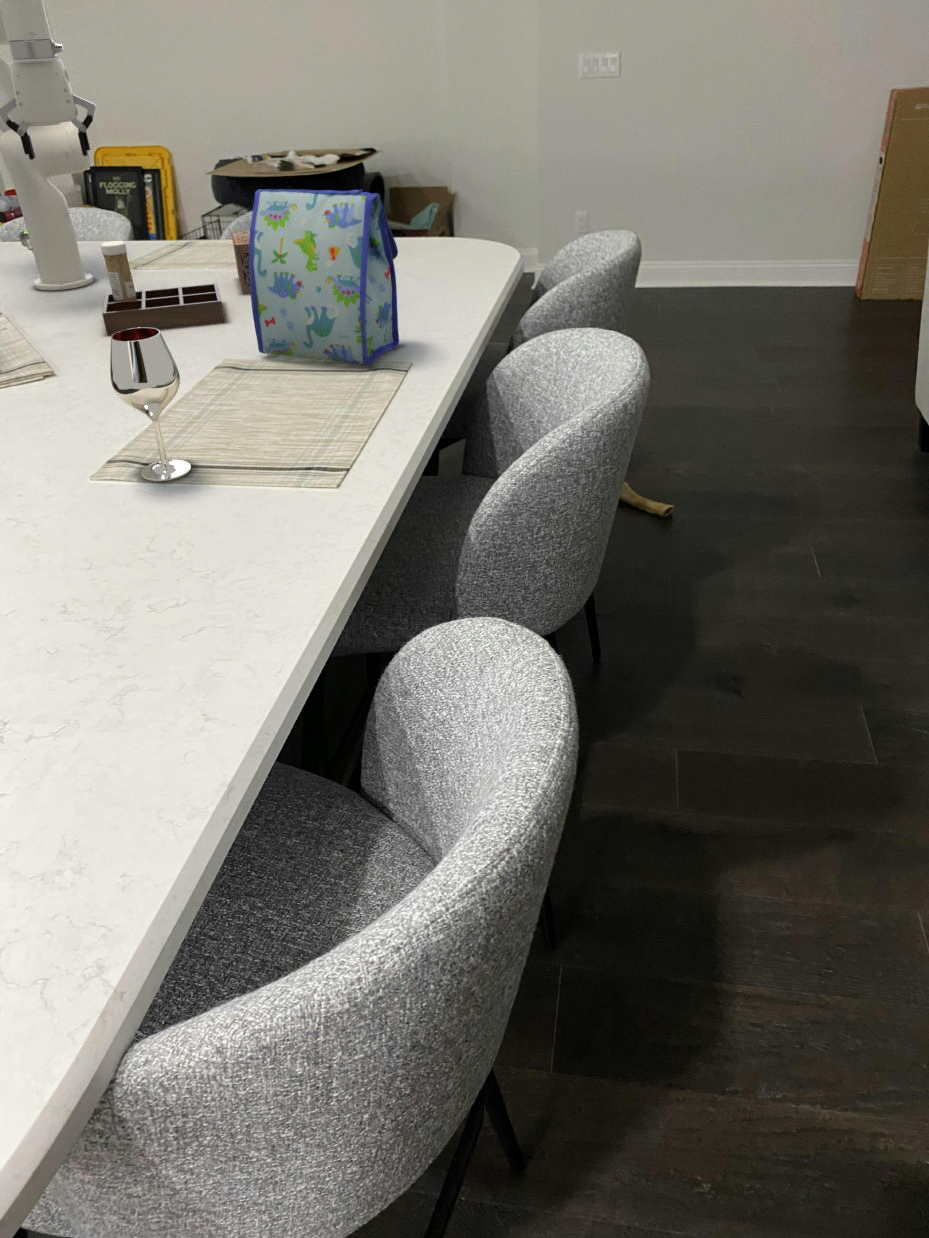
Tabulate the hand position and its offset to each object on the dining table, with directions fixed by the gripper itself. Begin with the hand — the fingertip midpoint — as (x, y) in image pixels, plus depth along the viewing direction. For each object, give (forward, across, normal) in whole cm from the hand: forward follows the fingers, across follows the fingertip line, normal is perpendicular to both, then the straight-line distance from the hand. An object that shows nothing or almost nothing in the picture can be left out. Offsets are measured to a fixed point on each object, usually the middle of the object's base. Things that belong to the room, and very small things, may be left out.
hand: (59, 157), depth 177 cm
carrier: (+28, -14, +15) cm, 35 cm away
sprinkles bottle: (+28, -7, +12) cm, 31 cm away
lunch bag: (+28, -42, +48) cm, 70 cm away
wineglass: (+28, -13, +91) cm, 96 cm away
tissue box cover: (+28, -43, -5) cm, 52 cm away
